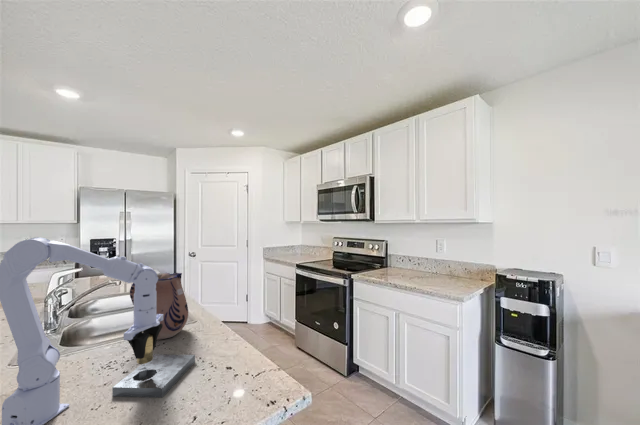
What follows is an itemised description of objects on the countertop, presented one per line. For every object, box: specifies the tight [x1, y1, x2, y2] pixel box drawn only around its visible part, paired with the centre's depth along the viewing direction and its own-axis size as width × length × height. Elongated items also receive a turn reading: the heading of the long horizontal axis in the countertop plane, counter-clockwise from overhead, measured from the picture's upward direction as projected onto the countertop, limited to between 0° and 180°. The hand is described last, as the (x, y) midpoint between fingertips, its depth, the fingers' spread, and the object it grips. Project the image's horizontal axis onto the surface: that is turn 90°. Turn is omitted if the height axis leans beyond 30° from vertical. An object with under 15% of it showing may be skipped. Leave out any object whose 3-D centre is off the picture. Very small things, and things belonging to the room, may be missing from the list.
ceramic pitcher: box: [129, 272, 189, 341], centre depth 113 cm, size 18×21×25 cm
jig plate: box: [111, 353, 196, 398], centre depth 84 cm, size 18×14×2 cm
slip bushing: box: [136, 334, 154, 365], centre depth 81 cm, size 4×4×7 cm
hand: (145, 353), depth 81 cm, fingers closed on slip bushing, 4 cm apart
